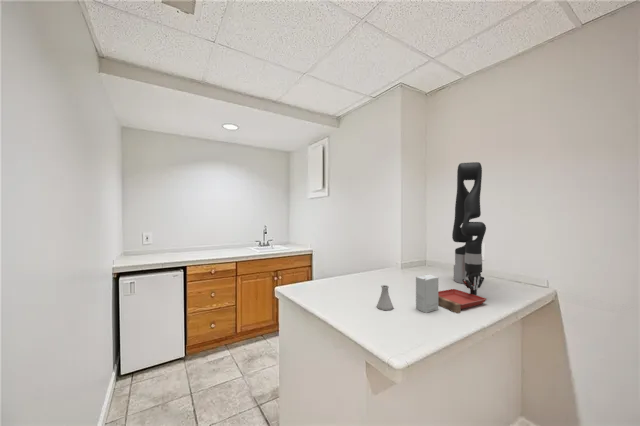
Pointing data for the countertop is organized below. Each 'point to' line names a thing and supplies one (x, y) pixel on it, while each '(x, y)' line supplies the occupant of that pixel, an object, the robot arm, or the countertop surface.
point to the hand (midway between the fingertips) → (473, 296)
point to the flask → (384, 299)
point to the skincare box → (427, 293)
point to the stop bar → (449, 304)
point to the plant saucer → (462, 298)
